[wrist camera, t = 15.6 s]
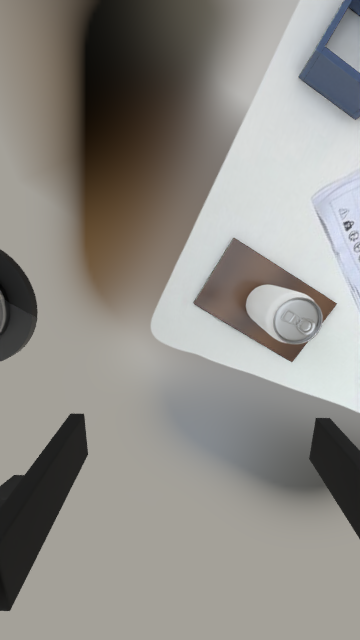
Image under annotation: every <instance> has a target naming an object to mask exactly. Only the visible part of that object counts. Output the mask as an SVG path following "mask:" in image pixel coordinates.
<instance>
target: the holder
mask: <svg viewBox="0 0 360 640" xmlns="http://www.w3.org/2000/svg"><path fill="white" fill-rule="evenodd" d="M348 7H349V8H350V9H352V10H353V11H354V12H355V13H357V14H358V15H359V16H360V0H343V2H342V4H341V6H340V7H339V9H338V11H337V12H336V14H335V16H334V17H333V19H332V21H331V23H330V24H329V26H328V28H327V29H326V31H325V33H324V34H323V36H322V38H321V40H320V41H319V43H318V45H317V46H316V48H315V50H314V51H313V53H312V55H311V57H310V58H309V60H308V62H307V63H306V65H305V67H304V69H303V70H302V72H301V74H300V75H299V78H300V79H301V80H303V81H304V82H305V83H307V84H308V85H309V86H311V87H312V88H314V89H315V90H316V91H318V92H319V93H320V94H322V95H323V96H324V97H326V98H327V99H328V100H330V101H331V102H332V103H334V104H335V105H336V106H338V107H339V108H340V109H342V110H343V111H344V112H346V113H347V114H348V115H350V116H352V117H353V118H354V119H355V120H356V119H357V118H359V117H360V73H359V72H357V71H356V70H355V69H354V68H352V67H351V66H350V65H348V64H347V63H346V62H344V61H343V60H342V59H341V58H339V57H338V56H337V55H335V54H334V53H333V52H332V51H330V50H329V49H328V48H326V47H325V45H326V44H327V42H328V40H329V39H330V37H331V35H332V34H333V32H334V30H335V29H336V27H337V25H338V24H339V22H340V20H341V19H342V17H343V15H344V13H345V12H346V10H347V8H348Z"/></svg>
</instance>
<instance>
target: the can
mask: <svg viewBox="0 0 360 640" xmlns="http://www.w3.org/2000/svg"><path fill="white" fill-rule="evenodd" d="M246 310H247V313H248V315H249V316H250V318H251V319H252V320H253V321H255V322H256V323H257V324H258V325H259V326H260V327H261V328H262V329H264V330H265V331H266V332H267V333H268V334H269V335H271V336H272V337H273V338H275V339H276V340H278V341H280V342H283V343H289V344H302V343H305V342H308V341H309V340H311V339H312V338H314V337H315V336H316V335H317V333H318V332H319V330H320V328H321V326H322V322H323V315H322V311H321V309H320V307H319V306H318V305H317V304H316V303H315V301H314V300H313V299H312V298H311V297H309V296H308V295H306V294H303V293H300V292H297V291H293V290H290V289H286V288H282V287H278V286H274V285H261V286H258V287H257V288H255V289H254V290H253V291H252V292H251V293H250V294H249V296H248V298H247V301H246Z"/></svg>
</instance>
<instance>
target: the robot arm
mask: <svg viewBox="0 0 360 640" xmlns="http://www.w3.org/2000/svg"><path fill="white" fill-rule="evenodd" d="M9 320H10V304H9V300H8V297H7V294H6V292H5V290H4V288H3V286H2V285H1V284H0V336H1V335H2V334H3V333H4V332H5V330H6V328H7V326H8V324H9ZM87 455H88V449H87V440H86V430H85V419H84V414H70V415H69V417H68V418H67V419H66V421H65V422H64V423H63V425H62V426H61V427H60V429H59V430H58V431H57V433H56V434H55V435H54V437H53V438H52V439H51V441H50V442H49V443H48V445H47V446H46V447H45V449H44V450H43V451H42V453H41V454H40V455H39V457H38V458H37V459H36V461H35V462H34V463H33V465H32V466H31V468H30V469H29V470H28V471H27V473H26V474H25V475H14V476H12V477H11V478H10V479H9V480H7V481H6V482H5V483H4V484H3V485H1V486H0V611H10V610H11V608H12V605H13V603H14V601H15V599H16V597H17V596H18V594H19V592H20V589H21V588H22V585H23V584H24V582H25V580H26V577H27V575H28V573H29V571H30V570H31V567H32V566H33V563H34V561H35V560H36V558H37V555H38V553H39V551H40V549H41V547H42V545H43V543H44V541H45V539H46V537H47V535H48V533H49V531H50V529H51V527H52V525H53V523H54V521H55V519H56V517H57V515H58V513H59V511H60V509H61V507H62V505H63V503H64V501H65V499H66V497H67V495H68V493H69V491H70V489H71V487H72V485H73V483H74V481H75V479H76V477H77V475H78V473H79V471H80V469H81V467H82V465H83V463H84V461H85V459H86V457H87ZM309 459H310V461H311V462H312V464H313V465H314V467H315V469H316V470H317V472H318V473H319V475H320V476H321V478H322V480H323V481H324V483H325V484H326V486H327V488H328V489H329V491H330V492H331V494H332V496H333V497H334V499H335V500H336V502H337V504H338V505H339V507H340V508H341V510H342V512H343V513H344V515H345V516H346V518H347V519H348V521H349V523H350V524H351V526H352V527H353V529H354V531H355V532H356V534H357V535H358V537H359V538H360V450H358V448H357V447H356V446H355V445H354V444H353V443H352V442H351V441H350V440H349V439H348V437H347V436H346V435H345V434H344V433H343V432H342V431H341V430H340V429H339V428H338V427H337V426H336V424H334V422H333V421H332V420H331V419H330V418H316V421H315V428H314V433H313V439H312V446H311V452H310V458H309Z"/></svg>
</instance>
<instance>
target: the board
mask: <svg viewBox="0 0 360 640" xmlns="http://www.w3.org/2000/svg"><path fill="white" fill-rule="evenodd" d="M261 285H274V286H278V287H282V288H286V289H290V290H293V291H297V292H300V293H303V294H306V295H308V296H309V297H311V298H312V299H313V300H314V301H315V303H316V304H317V305H318V306H319V307H320V309H321V311H322V315H323V321H324V320H325V319H326V317H327V316H328V315H329V314H330V312H331V311H332V310H333V308H334V307H335V306H336V304H337V303H335V302H334V301H332V300H330V299H329V298H327V297H326V296H324V295H323V294H321V293H320V292H318V291H316V290H315V289H313V288H312V287H310V286H309V285H307V284H305V283H304V282H302V281H301V280H299V279H298V278H296V277H295V276H293V275H291V274H290V273H288V272H287V271H285V270H284V269H282V268H280V267H279V266H277V265H276V264H274V263H273V262H271V261H270V260H268V259H266V258H265V257H263V256H262V255H260V254H259V253H257V252H255V251H254V250H252V249H251V248H249V247H248V246H246V245H245V244H243V243H241V242H240V241H238V240H237V239H235V238H233V239H232V241H231V243H230V244H229V246H228V248H227V249H226V251H225V252H224V254H223V256H222V257H221V259H220V260H219V262H218V264H217V265H216V267H215V269H214V270H213V272H212V273H211V275H210V277H209V278H208V280H207V282H206V283H205V285H204V286H203V288H202V290H201V291H200V293H199V295H198V296H197V298H196V299H195V301H194V304H195V305H197V306H198V307H200V308H202V309H203V310H205V311H207V312H208V313H210V314H212V315H213V316H215V317H217V318H218V319H220V320H222V321H223V322H225V323H227V324H229V325H230V326H232V327H234V328H235V329H237V330H239V331H240V332H242V333H244V334H245V335H247V336H249V337H250V338H252V339H254V340H255V341H257V342H259V343H260V344H262V345H264V346H265V347H267V348H269V349H270V350H272V351H274V352H276V353H277V354H279V355H281V356H282V357H284V358H286V359H287V360H289V361H291V362H293V360H294V359H295V358H296V357H297V355H298V354H299V353H300V351H301V350H302V349H303V347H304V346H305V345H306V344H307V342H305V343H302V344H289V343H283V342H280V341H278V340H276V339H275V338H273V337H272V336H271V335H269V334H268V333H267V332H266V331H265V330H264V329H262V328H261V327H260V326H259V325H258V324H257V323H256V322H255V321H253V320H252V319H251V318H250V316H249V315H248V313H247V310H246V301H247V298H248V296H249V294H250V293H251V292H252V291H253V290H254V289H255V288H257V287H258V286H261ZM322 323H323V322H322Z"/></svg>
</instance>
